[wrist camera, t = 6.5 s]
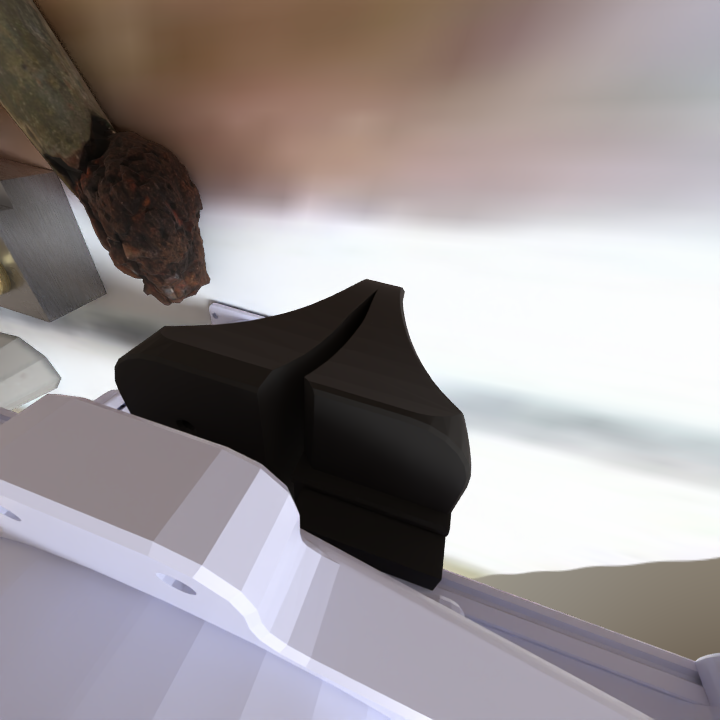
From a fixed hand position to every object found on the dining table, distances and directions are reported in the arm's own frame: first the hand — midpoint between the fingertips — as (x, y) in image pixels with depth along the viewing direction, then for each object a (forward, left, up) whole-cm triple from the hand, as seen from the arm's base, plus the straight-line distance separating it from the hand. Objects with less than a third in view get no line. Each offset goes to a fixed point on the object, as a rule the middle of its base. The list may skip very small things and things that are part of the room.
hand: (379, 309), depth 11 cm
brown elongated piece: (+1, +18, -10) cm, 21 cm away
